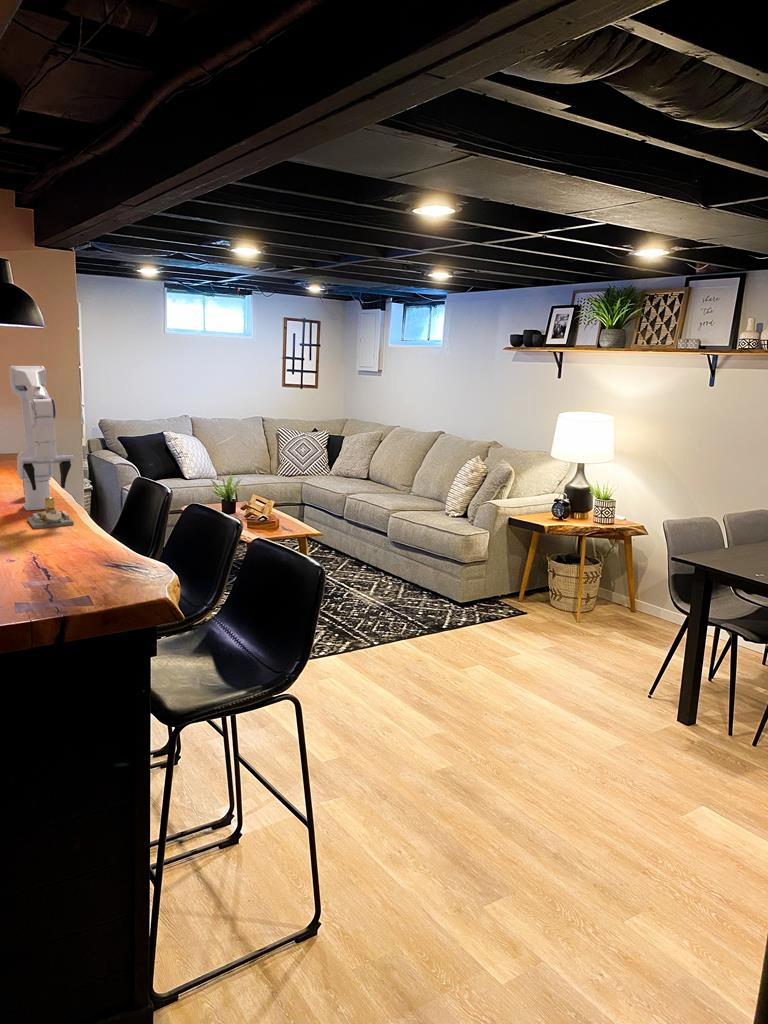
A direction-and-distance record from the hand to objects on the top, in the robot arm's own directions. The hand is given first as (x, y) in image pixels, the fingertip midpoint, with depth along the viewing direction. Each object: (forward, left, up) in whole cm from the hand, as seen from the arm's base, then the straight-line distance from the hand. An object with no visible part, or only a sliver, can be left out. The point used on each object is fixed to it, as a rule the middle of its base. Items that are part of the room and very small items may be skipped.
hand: (48, 488), depth 219 cm
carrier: (+1, 0, -10) cm, 10 cm away
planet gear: (0, 0, -9) cm, 9 cm away
